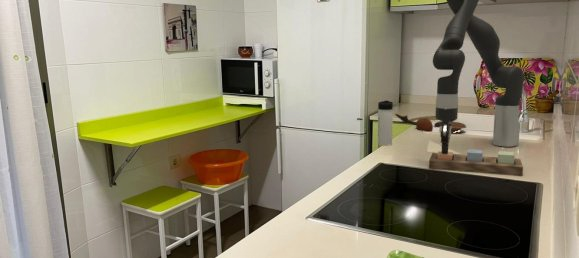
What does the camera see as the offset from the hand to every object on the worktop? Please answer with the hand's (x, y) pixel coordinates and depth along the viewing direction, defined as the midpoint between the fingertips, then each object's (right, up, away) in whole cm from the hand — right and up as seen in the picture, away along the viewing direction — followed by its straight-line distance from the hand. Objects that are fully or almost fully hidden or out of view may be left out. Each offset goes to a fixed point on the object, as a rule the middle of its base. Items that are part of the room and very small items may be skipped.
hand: (444, 153), depth 165 cm
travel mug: (-15, +1, +34) cm, 37 cm away
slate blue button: (+9, -2, -4) cm, 10 cm away
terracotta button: (0, -3, +1) cm, 3 cm away
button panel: (+9, -5, -3) cm, 11 cm away
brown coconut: (+23, +12, +55) cm, 61 cm away
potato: (+14, +9, +62) cm, 64 cm away
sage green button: (+19, -3, -7) cm, 20 cm away
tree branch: (+17, +10, +79) cm, 82 cm away
